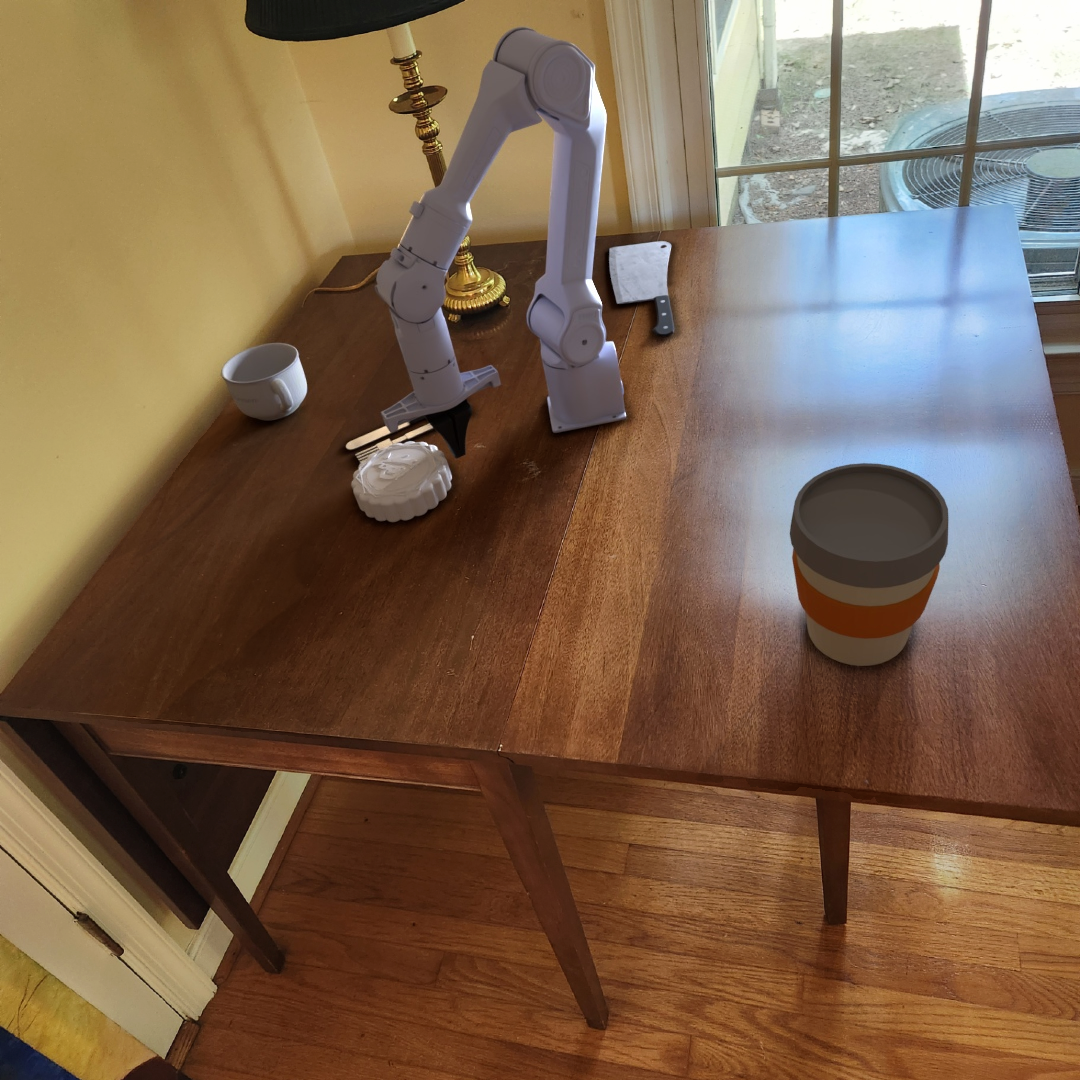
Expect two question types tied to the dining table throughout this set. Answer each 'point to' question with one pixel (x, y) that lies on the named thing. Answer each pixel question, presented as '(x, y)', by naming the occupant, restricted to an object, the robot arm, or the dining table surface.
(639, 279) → the cleaver
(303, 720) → the dining table surface
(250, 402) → the teacup
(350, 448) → the knife
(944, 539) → the reusable coffee cup
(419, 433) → the fork
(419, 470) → the mooncake
